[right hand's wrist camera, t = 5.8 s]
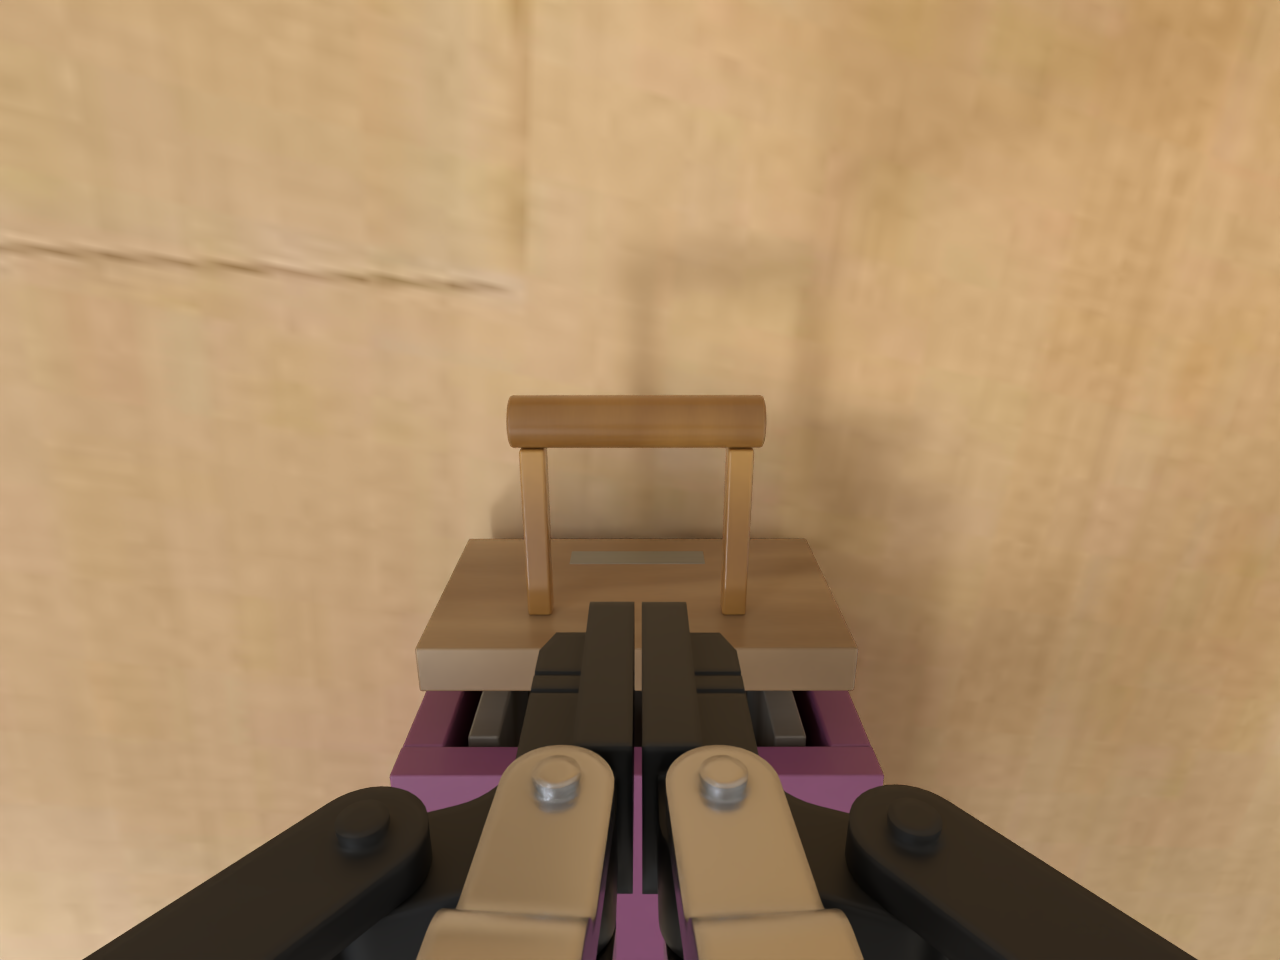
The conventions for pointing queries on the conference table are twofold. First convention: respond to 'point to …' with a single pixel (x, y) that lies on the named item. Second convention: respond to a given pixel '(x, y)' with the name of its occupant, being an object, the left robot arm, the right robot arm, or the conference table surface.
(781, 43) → the conference table surface
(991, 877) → the right robot arm
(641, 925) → the cabinet
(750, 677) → the drawer
